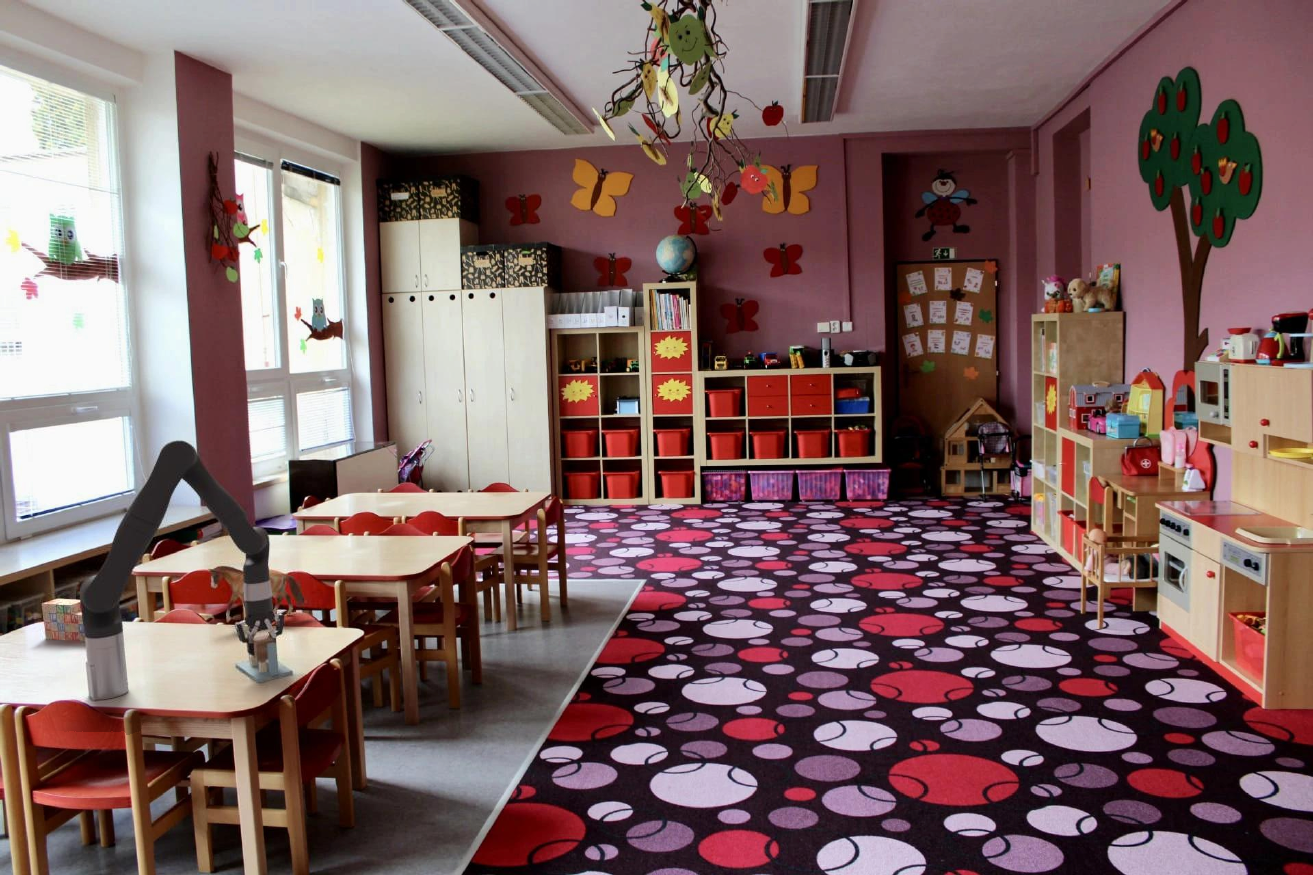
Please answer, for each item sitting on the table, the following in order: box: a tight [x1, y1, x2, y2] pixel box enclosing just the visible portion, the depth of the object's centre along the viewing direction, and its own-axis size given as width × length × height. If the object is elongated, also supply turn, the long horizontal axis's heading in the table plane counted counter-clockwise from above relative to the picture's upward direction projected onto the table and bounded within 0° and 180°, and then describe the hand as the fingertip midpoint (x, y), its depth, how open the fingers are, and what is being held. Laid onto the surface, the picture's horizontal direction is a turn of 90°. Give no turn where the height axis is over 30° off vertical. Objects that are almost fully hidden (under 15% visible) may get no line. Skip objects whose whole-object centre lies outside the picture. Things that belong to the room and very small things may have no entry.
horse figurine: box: [207, 565, 308, 623], centre depth 339 cm, size 31×8×21 cm, turn 104°
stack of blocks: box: [41, 598, 85, 643], centre depth 325 cm, size 21×6×12 cm, turn 72°
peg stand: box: [234, 630, 294, 683], centre depth 286 cm, size 10×19×10 cm, turn 41°
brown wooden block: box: [253, 630, 275, 661], centre depth 286 cm, size 12×5×5 cm, turn 33°
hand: (262, 652), depth 286 cm, fingers closed on brown wooden block, 5 cm apart
